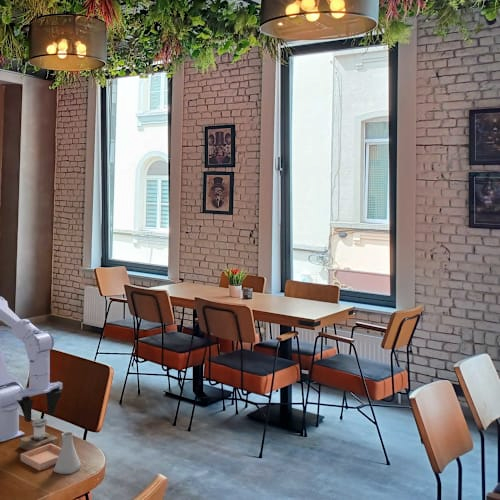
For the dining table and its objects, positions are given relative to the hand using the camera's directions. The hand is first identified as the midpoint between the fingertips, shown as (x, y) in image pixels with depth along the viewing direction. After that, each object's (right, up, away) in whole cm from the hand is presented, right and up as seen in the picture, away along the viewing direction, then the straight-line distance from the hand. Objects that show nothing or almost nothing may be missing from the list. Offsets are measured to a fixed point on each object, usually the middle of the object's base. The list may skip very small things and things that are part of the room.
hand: (39, 417), depth 171 cm
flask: (+13, -11, -13) cm, 21 cm away
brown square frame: (0, -9, +1) cm, 9 cm away
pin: (0, -9, +1) cm, 9 cm away
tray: (+5, -10, -8) cm, 14 cm away
